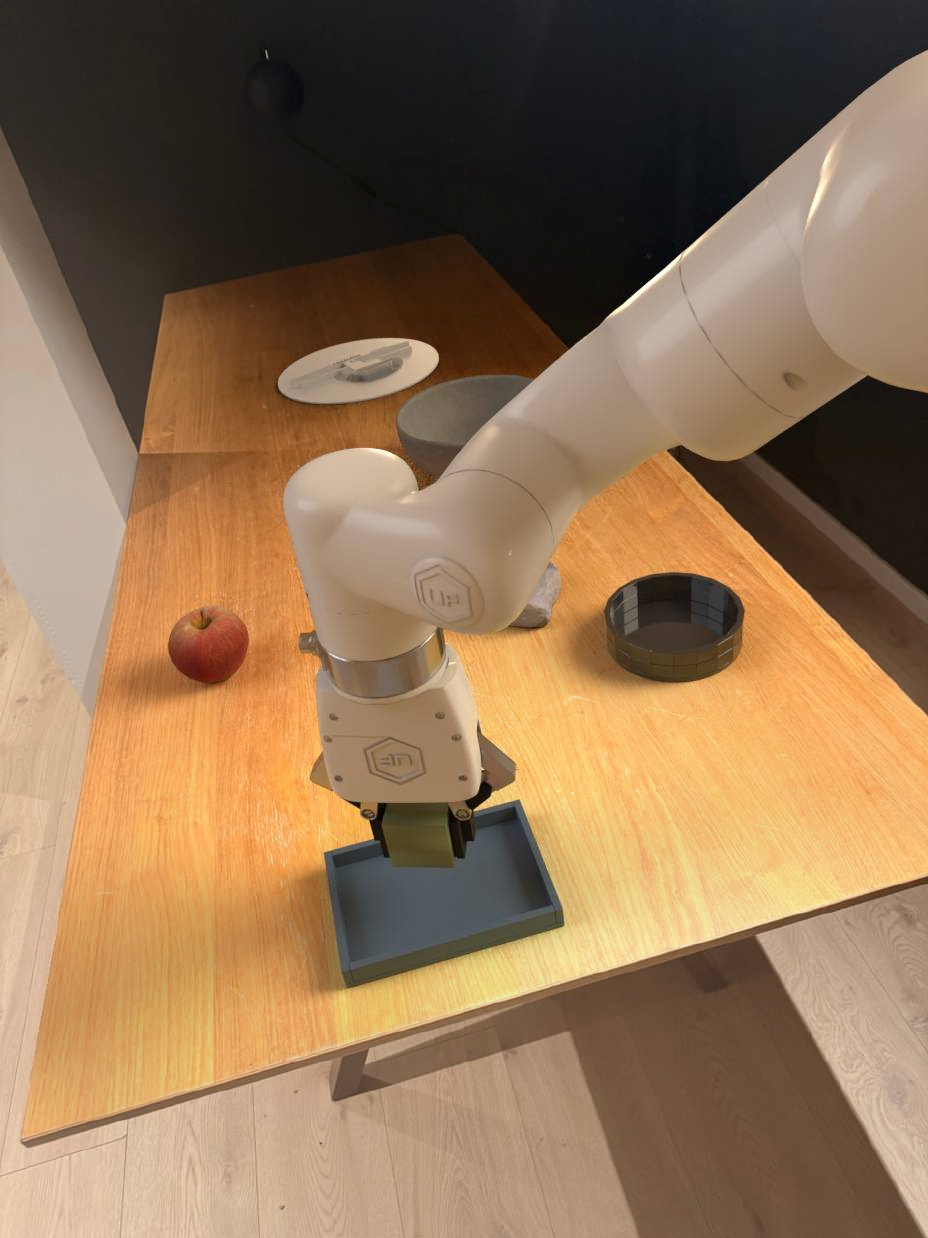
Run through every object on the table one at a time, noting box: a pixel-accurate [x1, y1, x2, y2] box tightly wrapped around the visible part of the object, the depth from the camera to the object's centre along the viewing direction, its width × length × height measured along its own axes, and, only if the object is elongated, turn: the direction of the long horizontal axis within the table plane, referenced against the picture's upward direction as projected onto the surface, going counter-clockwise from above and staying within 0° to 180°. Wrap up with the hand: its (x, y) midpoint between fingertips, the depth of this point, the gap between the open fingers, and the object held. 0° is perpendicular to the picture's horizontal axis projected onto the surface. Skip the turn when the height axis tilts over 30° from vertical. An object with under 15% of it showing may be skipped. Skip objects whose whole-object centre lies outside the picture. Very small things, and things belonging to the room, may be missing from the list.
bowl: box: [395, 374, 536, 480], centre depth 125 cm, size 20×20×10 cm
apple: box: [167, 604, 250, 684], centre depth 97 cm, size 8×8×8 cm
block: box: [382, 802, 456, 868], centre depth 68 cm, size 4×4×4 cm
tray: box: [323, 798, 565, 989], centre depth 72 cm, size 16×11×2 cm
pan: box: [603, 571, 746, 683], centre depth 93 cm, size 13×13×4 cm
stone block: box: [509, 561, 563, 628], centre depth 102 cm, size 12×5×10 cm
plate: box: [277, 337, 440, 405], centre depth 163 cm, size 28×28×1 cm
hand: (427, 841), depth 69 cm, fingers closed on block, 4 cm apart
